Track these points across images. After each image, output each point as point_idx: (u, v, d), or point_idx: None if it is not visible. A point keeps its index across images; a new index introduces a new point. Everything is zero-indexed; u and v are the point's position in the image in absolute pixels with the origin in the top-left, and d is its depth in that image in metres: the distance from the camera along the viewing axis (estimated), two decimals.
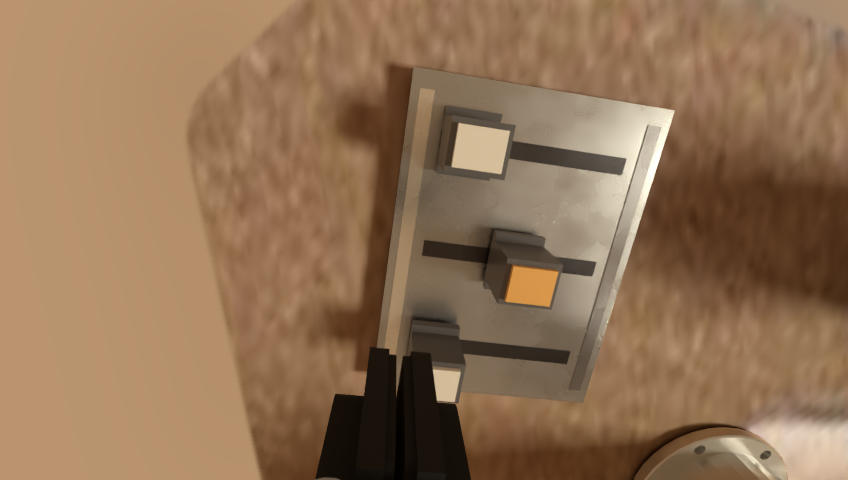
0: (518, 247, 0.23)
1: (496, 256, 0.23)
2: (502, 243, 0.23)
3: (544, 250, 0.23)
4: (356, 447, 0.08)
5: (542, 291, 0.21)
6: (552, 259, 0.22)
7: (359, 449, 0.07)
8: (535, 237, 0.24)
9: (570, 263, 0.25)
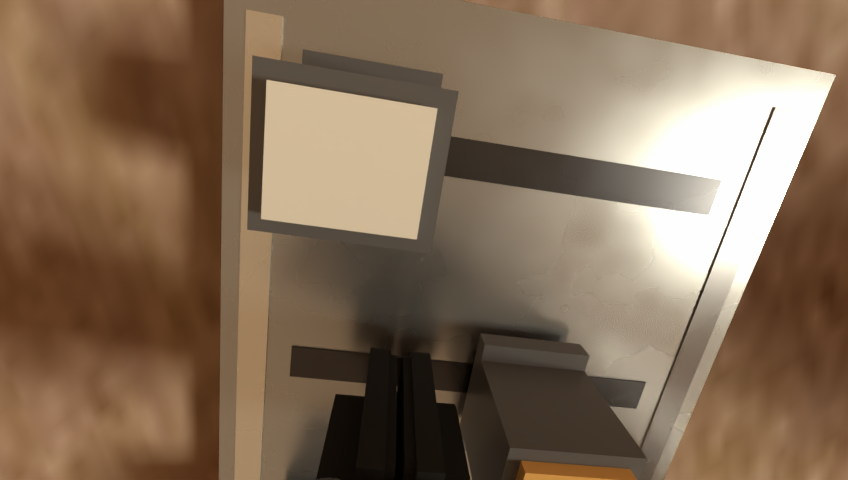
0: (532, 383, 0.10)
1: (484, 405, 0.10)
2: (497, 370, 0.11)
3: (588, 387, 0.11)
4: (356, 447, 0.08)
5: None
6: (615, 431, 0.09)
7: (360, 449, 0.07)
8: (567, 352, 0.11)
9: (594, 384, 0.13)
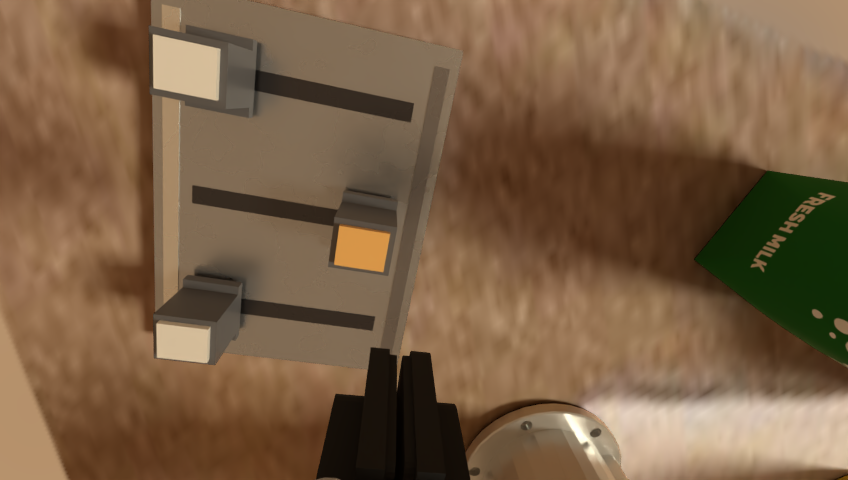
0: (363, 209, 0.21)
1: None
2: (348, 204, 0.21)
3: (392, 213, 0.21)
4: (357, 447, 0.08)
5: (374, 255, 0.19)
6: (390, 221, 0.20)
7: (360, 449, 0.07)
8: (387, 200, 0.22)
9: None
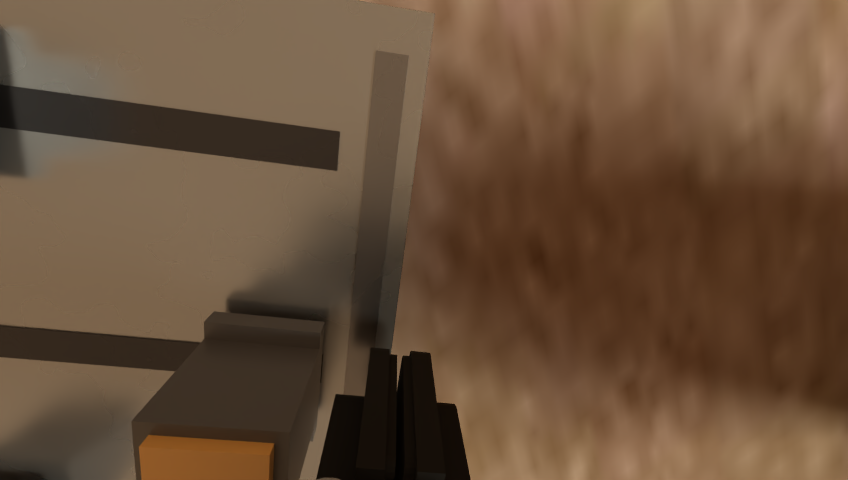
0: (240, 359, 0.10)
1: None
2: (212, 347, 0.10)
3: (305, 363, 0.10)
4: (357, 447, 0.08)
5: None
6: (284, 405, 0.09)
7: (360, 449, 0.07)
8: (298, 329, 0.11)
9: None
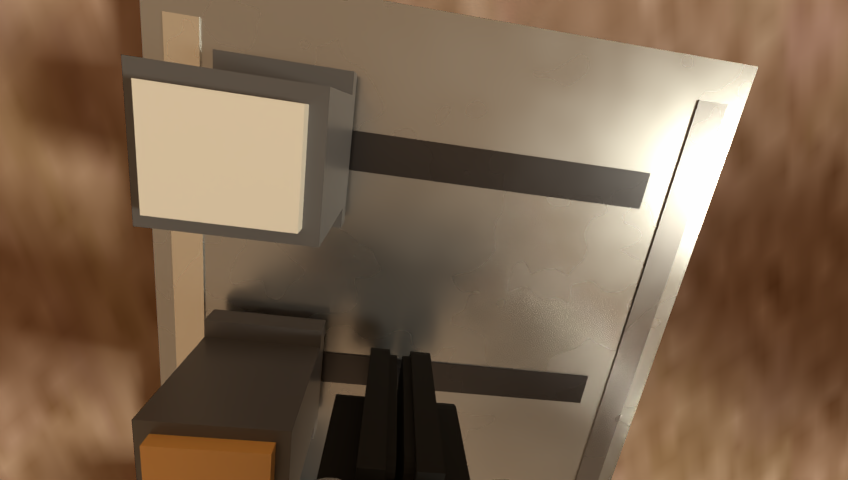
0: (241, 358, 0.10)
1: None
2: (213, 345, 0.10)
3: (306, 362, 0.10)
4: (357, 447, 0.08)
5: None
6: (285, 404, 0.09)
7: (360, 449, 0.07)
8: (299, 327, 0.11)
9: (536, 379, 0.13)
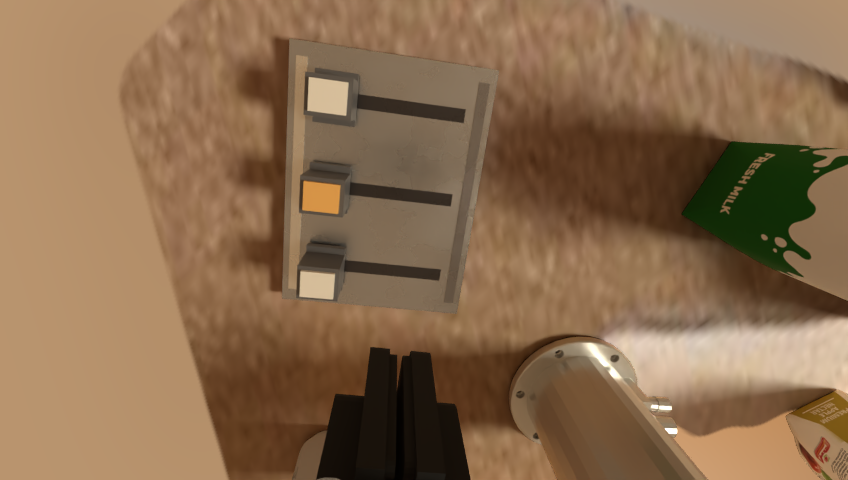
0: (324, 172, 0.29)
1: None
2: (313, 170, 0.29)
3: (346, 175, 0.29)
4: (356, 447, 0.08)
5: (330, 201, 0.27)
6: (342, 178, 0.28)
7: (360, 449, 0.07)
8: (342, 166, 0.30)
9: (432, 195, 0.32)
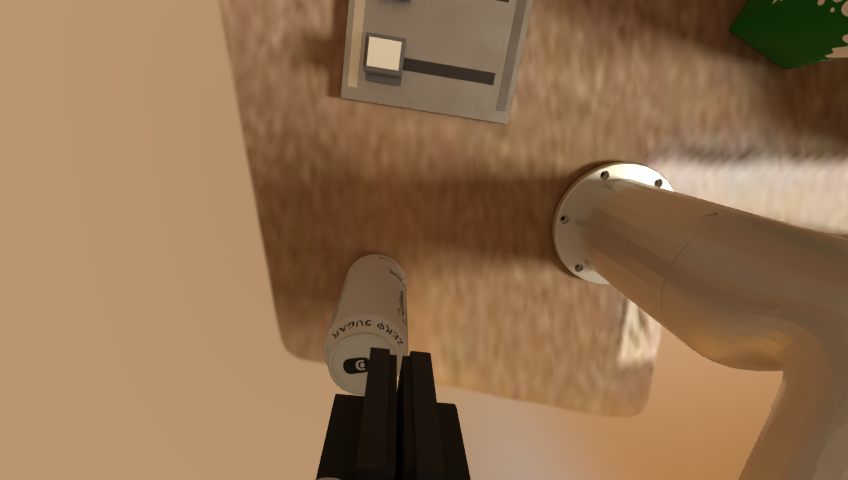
0: None
1: None
2: None
3: None
4: (356, 447, 0.08)
5: None
6: None
7: (360, 449, 0.07)
8: None
9: None
